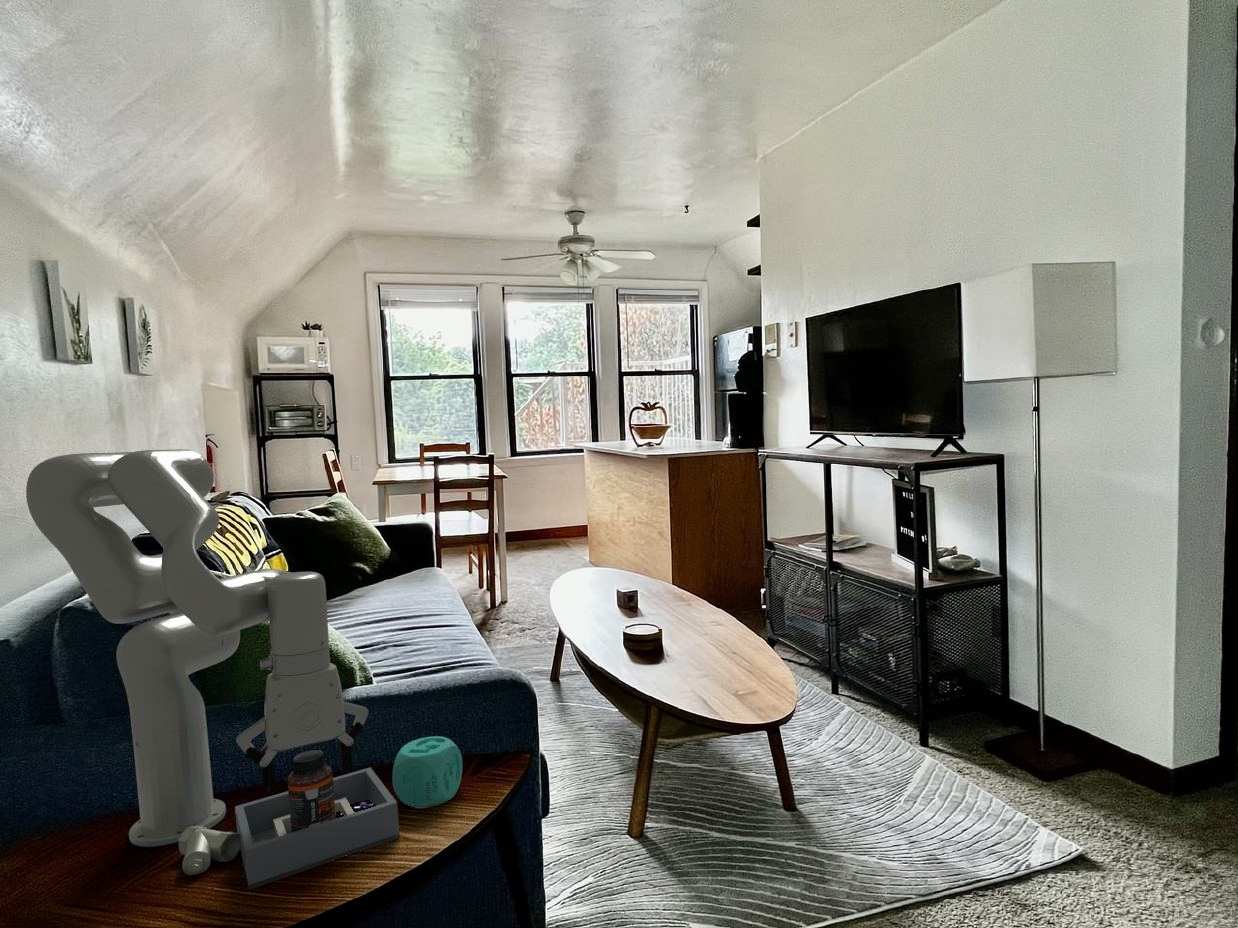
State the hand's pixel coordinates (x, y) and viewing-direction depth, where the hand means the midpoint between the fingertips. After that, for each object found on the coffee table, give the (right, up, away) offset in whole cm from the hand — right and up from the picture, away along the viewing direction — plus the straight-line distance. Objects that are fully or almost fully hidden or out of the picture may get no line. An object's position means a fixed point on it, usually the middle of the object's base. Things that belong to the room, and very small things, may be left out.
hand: (308, 780), depth 105 cm
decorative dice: (+15, -7, +11) cm, 20 cm away
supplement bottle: (+1, -8, 0) cm, 8 cm away
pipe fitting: (-13, -10, -4) cm, 17 cm away
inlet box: (+1, -8, 0) cm, 8 cm away
